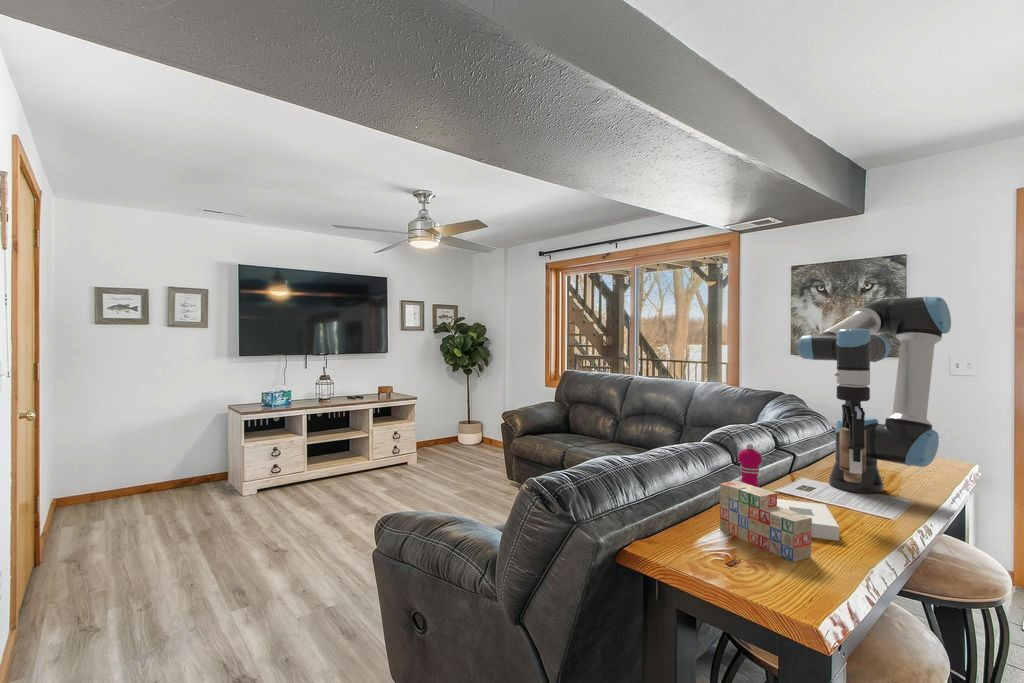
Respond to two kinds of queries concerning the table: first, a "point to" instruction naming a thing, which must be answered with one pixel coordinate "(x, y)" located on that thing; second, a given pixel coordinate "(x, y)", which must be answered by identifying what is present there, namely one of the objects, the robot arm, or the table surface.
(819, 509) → the cream board
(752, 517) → the stack of blocks
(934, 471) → the table surface
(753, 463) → the pepper mill
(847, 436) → the walnut peg
